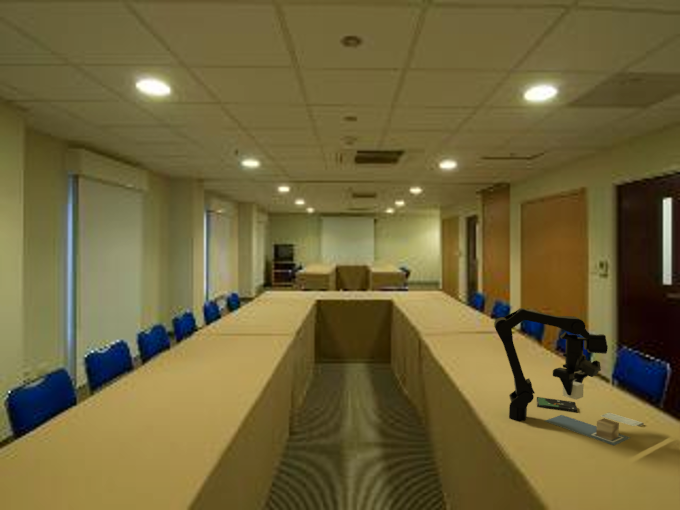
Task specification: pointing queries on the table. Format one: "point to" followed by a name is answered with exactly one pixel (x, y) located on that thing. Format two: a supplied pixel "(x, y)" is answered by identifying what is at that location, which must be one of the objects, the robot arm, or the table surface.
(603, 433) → the maple cube
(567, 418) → the board
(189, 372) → the table surface
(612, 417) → the hard drive
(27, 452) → the table surface
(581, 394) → the cream cube
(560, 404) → the disk drive
